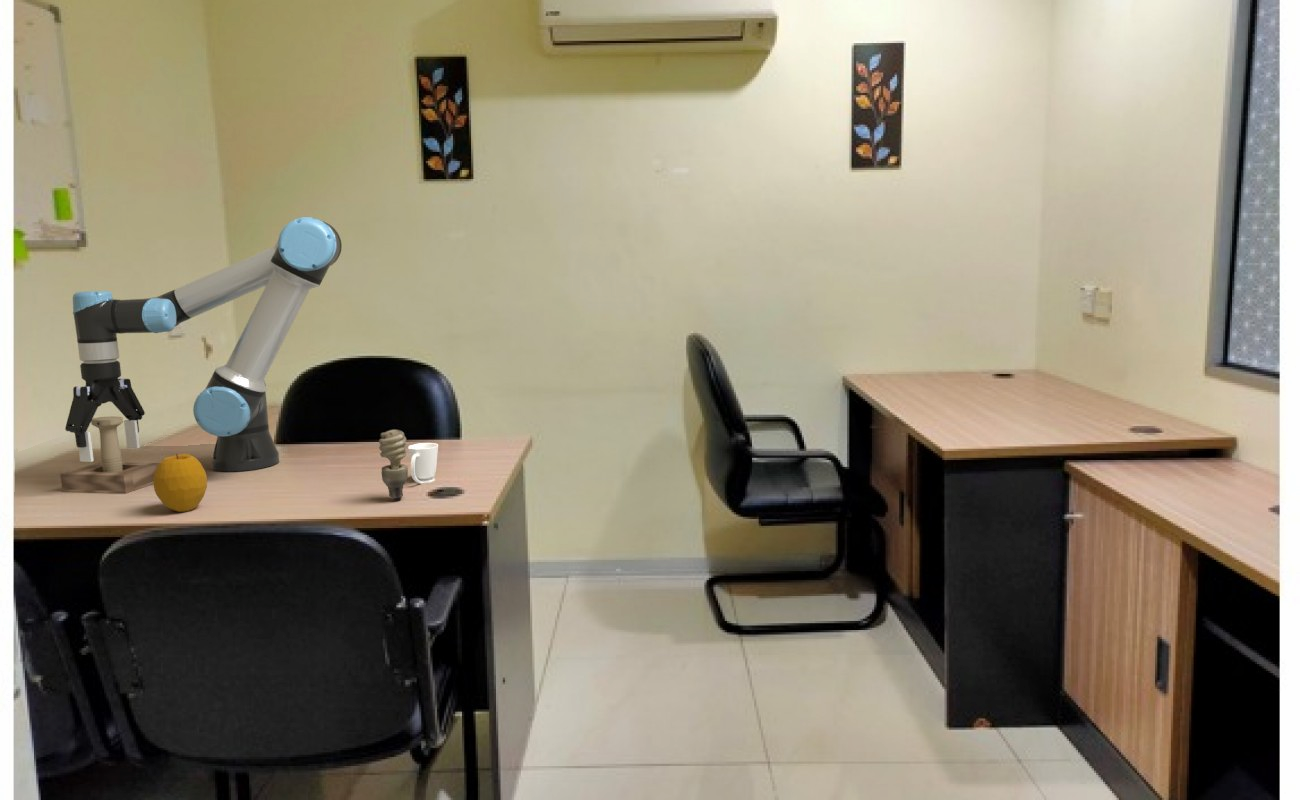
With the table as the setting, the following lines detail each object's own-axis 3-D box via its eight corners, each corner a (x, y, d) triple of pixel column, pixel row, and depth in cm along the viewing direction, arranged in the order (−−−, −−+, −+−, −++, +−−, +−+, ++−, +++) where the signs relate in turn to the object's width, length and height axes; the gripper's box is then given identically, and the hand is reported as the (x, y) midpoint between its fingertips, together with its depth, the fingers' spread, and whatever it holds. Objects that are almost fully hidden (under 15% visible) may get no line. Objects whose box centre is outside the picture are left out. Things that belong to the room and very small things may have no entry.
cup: (446, 477, 200) (444, 442, 199) (428, 488, 190) (426, 452, 189) (417, 476, 201) (414, 442, 200) (398, 487, 192) (396, 451, 190)
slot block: (164, 479, 203) (163, 463, 202) (125, 493, 191) (123, 475, 190) (104, 478, 205) (102, 461, 205) (62, 491, 194) (60, 474, 193)
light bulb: (413, 501, 180) (409, 430, 178) (387, 505, 177) (382, 433, 175) (405, 495, 185) (400, 426, 183) (379, 499, 182) (374, 429, 180)
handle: (117, 486, 195) (109, 420, 193) (94, 485, 197) (85, 419, 194) (134, 481, 200) (127, 416, 197) (112, 480, 201) (104, 416, 199)
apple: (171, 503, 182) (165, 448, 180) (218, 502, 183) (213, 447, 181) (147, 517, 172) (140, 459, 171) (197, 515, 173) (191, 457, 171)
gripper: (127, 354, 206) (137, 442, 210) (37, 368, 182) (50, 467, 186) (155, 354, 205) (165, 443, 209) (68, 368, 181) (81, 467, 184)
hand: (111, 454), depth 197 cm, fingers open, 13 cm apart
